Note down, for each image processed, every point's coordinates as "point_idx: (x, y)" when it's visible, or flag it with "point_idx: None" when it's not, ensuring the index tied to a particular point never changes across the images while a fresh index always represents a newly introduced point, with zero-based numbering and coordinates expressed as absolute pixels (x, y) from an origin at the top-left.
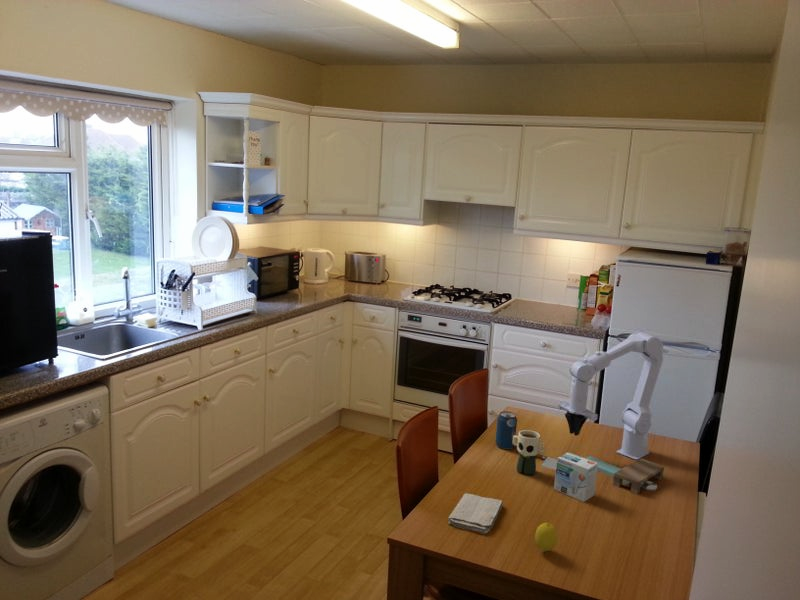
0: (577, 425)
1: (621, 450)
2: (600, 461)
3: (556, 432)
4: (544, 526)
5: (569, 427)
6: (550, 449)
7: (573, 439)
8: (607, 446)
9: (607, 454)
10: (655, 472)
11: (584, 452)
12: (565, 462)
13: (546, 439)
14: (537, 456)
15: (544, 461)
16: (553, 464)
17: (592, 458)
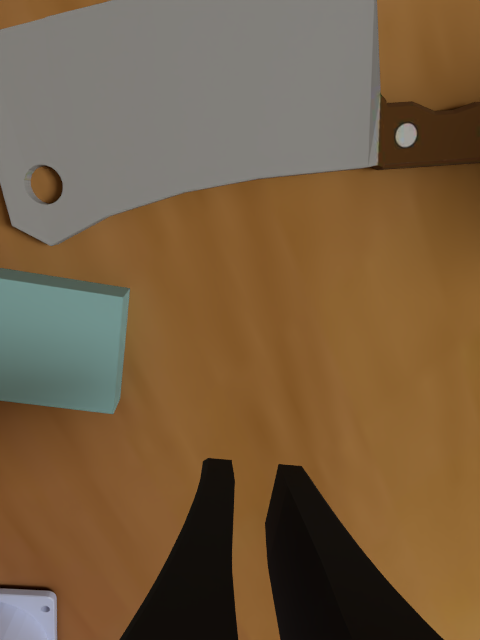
0: (166, 603)
1: (32, 622)
2: (1, 383)
3: (449, 591)
4: None
5: (335, 527)
6: (407, 355)
7: None
8: None
9: (79, 539)
10: None
11: (200, 471)
12: None
13: (477, 475)
14: (460, 110)
15: (373, 63)
16: (282, 66)
17: (75, 389)
